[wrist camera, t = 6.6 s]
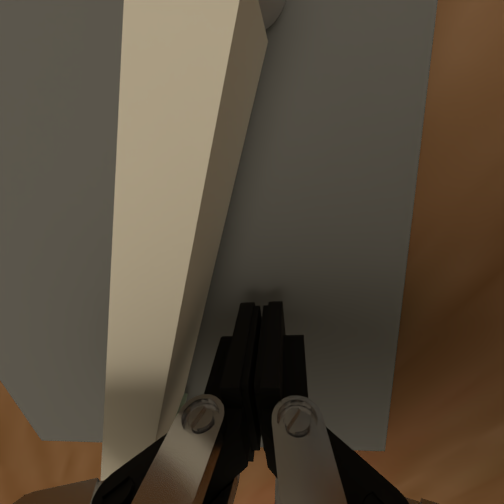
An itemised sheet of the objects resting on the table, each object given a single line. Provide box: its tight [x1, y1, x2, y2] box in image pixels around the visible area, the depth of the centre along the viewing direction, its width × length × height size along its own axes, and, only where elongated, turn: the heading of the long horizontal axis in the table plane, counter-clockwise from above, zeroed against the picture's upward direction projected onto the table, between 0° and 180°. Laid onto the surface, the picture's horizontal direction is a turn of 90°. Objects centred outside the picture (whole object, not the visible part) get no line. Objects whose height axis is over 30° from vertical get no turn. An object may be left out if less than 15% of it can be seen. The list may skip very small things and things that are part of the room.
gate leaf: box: [101, 0, 285, 481], centre depth 9 cm, size 2×19×5 cm, turn 165°
